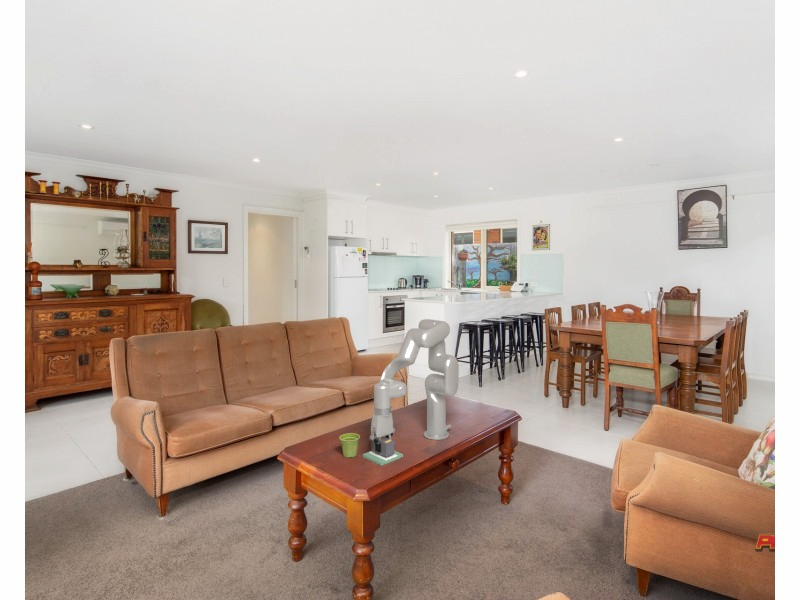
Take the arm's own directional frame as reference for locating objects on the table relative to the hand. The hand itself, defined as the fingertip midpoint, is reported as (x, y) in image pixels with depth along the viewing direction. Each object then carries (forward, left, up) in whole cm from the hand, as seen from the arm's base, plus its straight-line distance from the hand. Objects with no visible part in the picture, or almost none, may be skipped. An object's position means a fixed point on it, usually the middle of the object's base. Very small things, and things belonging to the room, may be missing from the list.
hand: (382, 449), depth 207 cm
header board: (0, 0, -3) cm, 3 cm away
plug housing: (0, 0, -1) cm, 1 cm away
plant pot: (+10, -12, -4) cm, 16 cm away
